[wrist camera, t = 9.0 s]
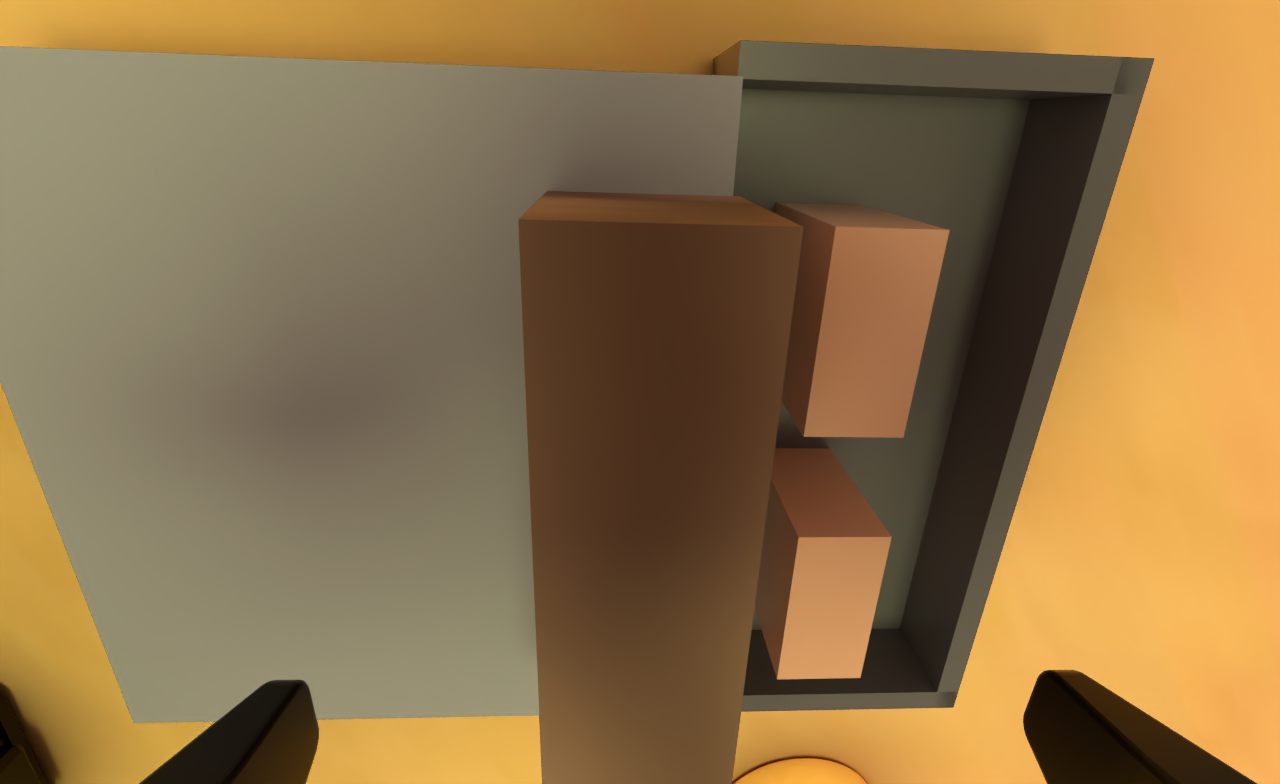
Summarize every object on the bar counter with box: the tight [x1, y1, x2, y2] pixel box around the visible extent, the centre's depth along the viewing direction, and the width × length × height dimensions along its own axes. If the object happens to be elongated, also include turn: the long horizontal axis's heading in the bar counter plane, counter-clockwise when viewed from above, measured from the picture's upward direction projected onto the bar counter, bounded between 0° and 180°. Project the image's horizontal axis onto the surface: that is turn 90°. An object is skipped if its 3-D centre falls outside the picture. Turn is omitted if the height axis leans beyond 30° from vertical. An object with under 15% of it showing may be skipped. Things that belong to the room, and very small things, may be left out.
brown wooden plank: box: [518, 191, 804, 784], centre depth 12 cm, size 4×11×4 cm, turn 178°
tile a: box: [755, 448, 892, 679], centre depth 16 cm, size 4×4×2 cm
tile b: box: [776, 202, 950, 438], centre depth 13 cm, size 4×4×2 cm
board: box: [0, 46, 743, 723], centre depth 15 cm, size 14×15×4 cm
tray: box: [713, 40, 1154, 711], centre depth 16 cm, size 8×16×3 cm, turn 178°
